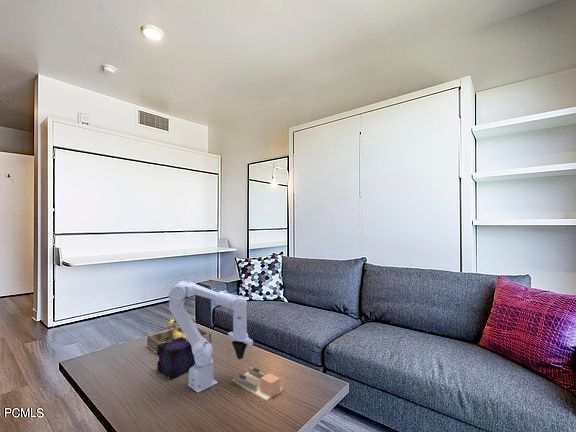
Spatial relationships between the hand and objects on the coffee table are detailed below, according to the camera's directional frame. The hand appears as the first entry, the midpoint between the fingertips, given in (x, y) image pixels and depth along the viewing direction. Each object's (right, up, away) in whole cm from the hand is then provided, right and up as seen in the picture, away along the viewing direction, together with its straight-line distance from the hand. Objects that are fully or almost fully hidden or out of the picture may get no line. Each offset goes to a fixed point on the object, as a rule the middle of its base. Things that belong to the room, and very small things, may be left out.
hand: (240, 358), depth 126 cm
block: (+13, -10, -8) cm, 18 cm away
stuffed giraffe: (-39, -11, +37) cm, 55 cm away
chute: (+8, -10, -3) cm, 13 cm away
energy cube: (-31, -11, +10) cm, 34 cm away
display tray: (-39, -11, +37) cm, 55 cm away
